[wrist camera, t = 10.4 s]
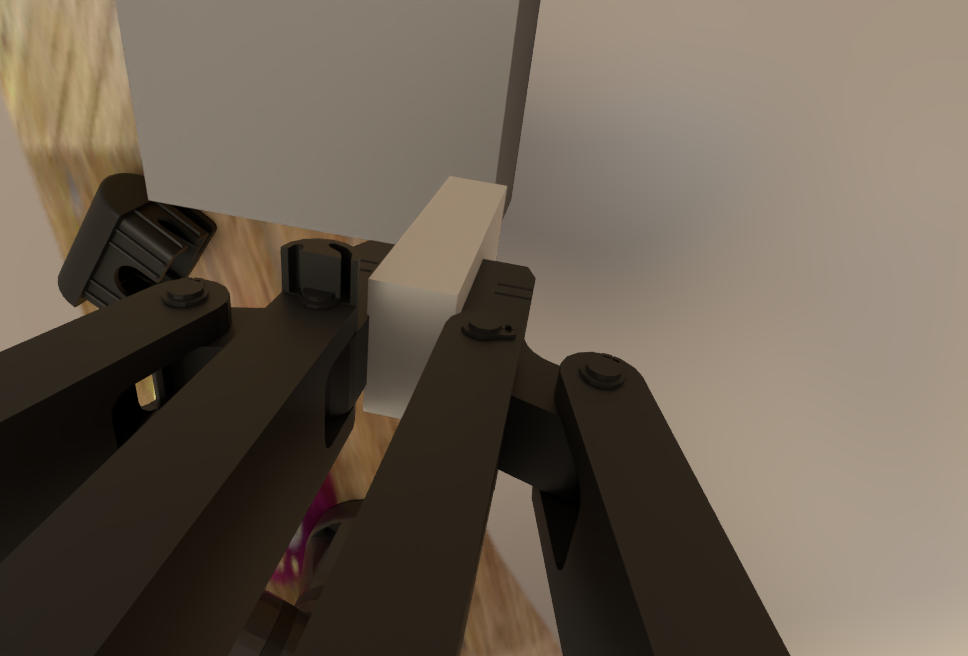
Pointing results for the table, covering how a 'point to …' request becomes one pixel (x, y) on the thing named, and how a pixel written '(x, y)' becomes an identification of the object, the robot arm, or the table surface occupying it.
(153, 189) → the cabinet
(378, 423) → the table surface
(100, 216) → the end cap
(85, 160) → the table surface
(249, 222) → the table surface
